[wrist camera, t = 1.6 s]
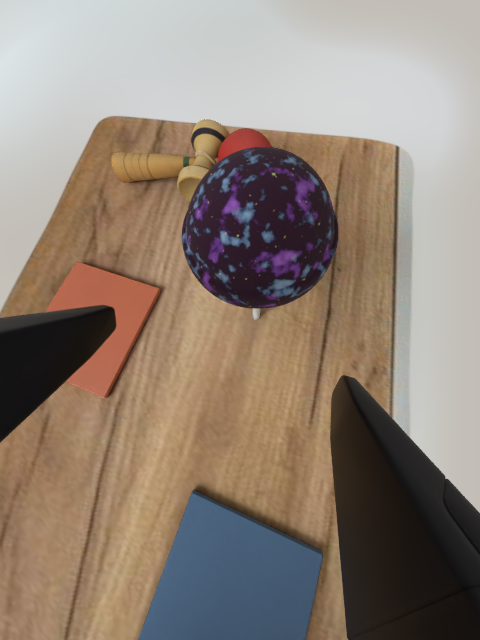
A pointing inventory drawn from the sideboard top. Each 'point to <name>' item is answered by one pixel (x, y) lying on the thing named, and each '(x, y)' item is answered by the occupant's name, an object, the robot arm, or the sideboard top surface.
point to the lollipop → (260, 229)
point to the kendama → (209, 148)
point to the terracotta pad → (131, 315)
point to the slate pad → (232, 580)
